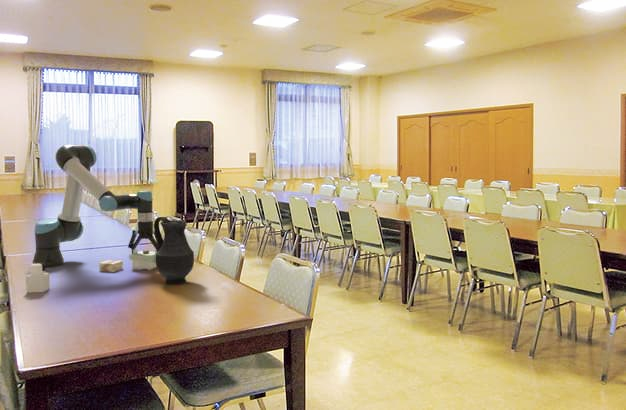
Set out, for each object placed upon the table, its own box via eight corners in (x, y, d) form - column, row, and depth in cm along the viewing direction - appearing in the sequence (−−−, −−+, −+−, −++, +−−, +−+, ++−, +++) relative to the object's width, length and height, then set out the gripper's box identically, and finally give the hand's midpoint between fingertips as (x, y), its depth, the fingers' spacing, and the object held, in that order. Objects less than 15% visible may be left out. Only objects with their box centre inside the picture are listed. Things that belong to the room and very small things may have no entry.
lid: (129, 259, 297) (129, 252, 296) (142, 255, 308) (141, 248, 308) (150, 260, 293) (150, 253, 293) (162, 256, 305) (162, 249, 305)
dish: (132, 268, 298) (132, 259, 297) (142, 265, 307) (142, 255, 307) (149, 270, 295) (149, 260, 295) (159, 266, 305) (159, 256, 304)
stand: (99, 270, 292) (99, 263, 292) (109, 267, 300) (108, 260, 300) (113, 271, 290) (113, 263, 290) (122, 268, 298) (122, 261, 298)
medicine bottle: (33, 288, 254) (32, 261, 253) (50, 288, 255) (48, 261, 254) (26, 292, 247) (25, 265, 246) (43, 292, 248) (42, 264, 247)
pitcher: (175, 288, 256) (173, 220, 253) (142, 282, 267) (140, 217, 264) (202, 281, 270) (201, 217, 267) (170, 276, 281) (169, 214, 278)
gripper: (120, 220, 298) (121, 262, 300) (162, 222, 292) (163, 264, 294) (128, 219, 306) (129, 259, 308) (170, 220, 300) (170, 262, 302)
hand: (146, 262), depth 301 cm, fingers closed on lid, 12 cm apart
